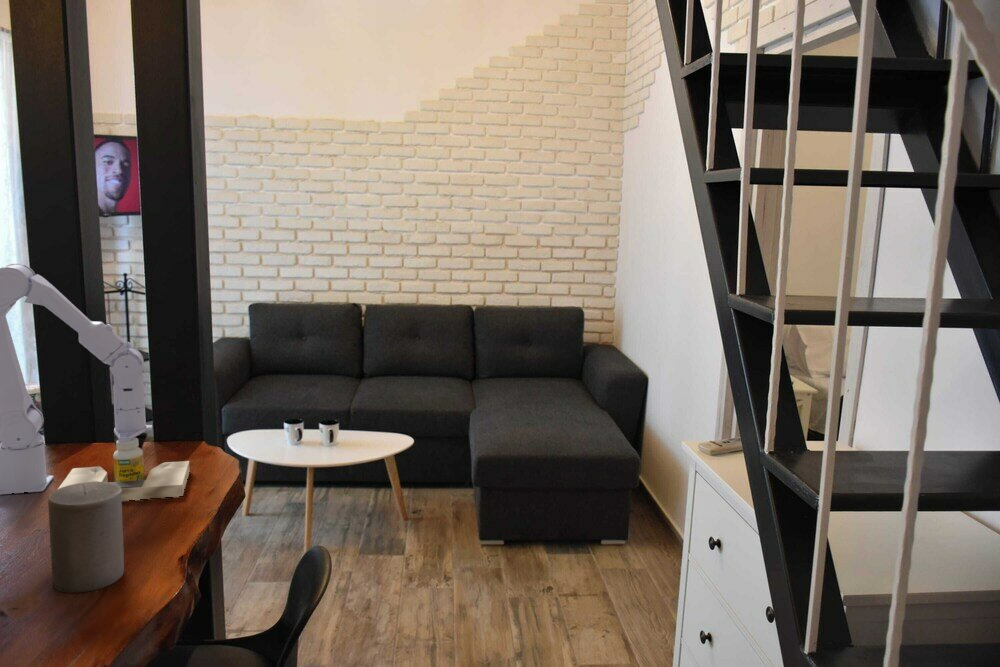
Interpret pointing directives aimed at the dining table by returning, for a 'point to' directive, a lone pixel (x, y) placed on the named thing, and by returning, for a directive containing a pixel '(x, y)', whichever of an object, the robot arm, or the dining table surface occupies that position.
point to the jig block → (140, 481)
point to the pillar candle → (86, 536)
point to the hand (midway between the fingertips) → (132, 469)
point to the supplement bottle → (128, 461)
